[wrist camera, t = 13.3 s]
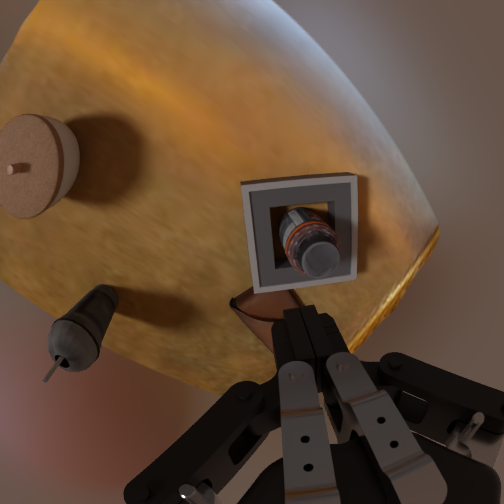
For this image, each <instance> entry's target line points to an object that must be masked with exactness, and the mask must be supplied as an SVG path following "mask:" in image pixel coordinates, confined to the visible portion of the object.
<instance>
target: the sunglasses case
mask: <svg viewBox="0 0 504 504" xmlns="http://www.w3.org/2000/svg"><path fill="white" fill-rule="evenodd" d="M229 305H230V307H231V309H232V310H233V311H234V312H235V313H236V314H237V315H238V316H239V318H240V319H241V320H242V321H243V322H244V323H245V324H246V326H247V327H248V328H249V329H250V330H251V331H252V332H253V333H254V334H255V335H256V336H257V337H258V338H259V339H260V340H261V341H262V342H263V343H264V344H265V346H266V347H267V348H268V349H269V350H270V351H271V352H272V353H273V354H274V351H273V343H272V335H271V327H272V325H273V323H274V322H275V321H281V320H284V318H283V310H284V309H291V308H297V307H298V308H299V307H301V306H300V304H299V303H298V301H297V300H296V299H295V297H294V296H293V294H292V293H291V292H290V290H289V289H287V290H280V291H272V292H264V293H256V294H254V288H253V287H251V288H249V289H248V290H246V291H245V292H243V293H242V294H240V295H238V296H237V297H236V298H235V299H234V298H232V299H231V300H230V303H229Z"/></svg>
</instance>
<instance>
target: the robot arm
mask: <svg viewBox="0 0 504 504" xmlns="http://www.w3.org/2000/svg"><path fill="white" fill-rule="evenodd" d="M283 318H284V320H281V321H275V322H274V323H273V325H272V327H271V335H272V343H273V351H274V357H275V363H276V368H277V373H276V375H275V376H274V377H273V378H272V379H271V380H269V381H267V382H265V383H263V384H260V385H259V384H257V383H255V382H252V381H242V382H238V383H236V384H234V385H233V386H231V387H230V388H229V389H228V390H227V392H226V393H225V394H224V395H223V396H222V397H221V398H220V399H219V400H218V401H217V402H216V403H215V404H214V405H213V406H212V407H211V408H210V409H209V410H208V411H207V412H206V413H205V414H204V415H203V416H202V417H201V418H200V419H199V420H198V421H197V422H196V423H195V424H194V425H192V426H191V427H190V428H189V429H188V430H187V431H186V432H185V433H184V434H183V435H182V436H181V437H180V438H179V439H178V440H177V441H176V442H175V443H173V444H172V445H171V446H170V447H169V448H168V449H167V450H166V451H165V452H164V453H162V454H161V455H160V456H159V457H158V458H157V459H156V460H155V461H154V462H152V463H151V464H150V465H149V466H148V467H147V468H146V469H144V470H143V471H142V472H141V473H140V474H139V475H137V476H136V477H135V478H134V479H133V480H131V481H130V482H129V483H128V484H127V485H126V487H125V489H124V500H125V502H126V504H222V503H221V500H220V499H219V497H218V496H217V494H218V493H219V492H220V491H221V490H222V489H223V488H224V487H225V486H226V484H227V483H228V482H229V481H230V480H231V479H232V478H233V477H234V476H235V474H236V473H237V472H238V471H239V470H240V469H241V468H242V466H243V465H244V464H245V463H246V461H248V459H249V458H250V457H251V455H253V453H254V452H255V451H256V450H257V449H258V447H259V446H260V445H261V444H262V442H263V441H264V440H265V438H266V437H267V436H268V434H269V432H270V431H272V430H275V429H276V428H279V427H281V430H282V447H283V457H282V458H280V459H279V460H277V461H275V462H273V463H272V464H271V465H269V466H268V467H267V468H266V469H265V470H264V471H263V472H262V473H261V474H260V475H259V476H258V478H257V479H256V480H255V482H254V483H253V484H252V486H251V487H250V488H249V489H248V491H247V492H246V493H245V494H244V496H243V497H242V498H241V499H240V501H239V502H238V503H237V504H500V497H501V482H500V478H499V476H498V474H497V473H496V471H495V470H494V469H493V466H494V463H495V461H496V458H497V455H498V452H499V450H500V447H501V444H502V441H503V438H504V392H502V391H500V390H497V389H494V388H491V387H488V386H486V385H483V384H480V383H477V382H474V381H472V380H469V379H467V378H464V377H461V376H458V375H456V374H453V373H451V372H448V371H445V370H443V369H440V368H437V367H435V366H432V365H430V364H427V363H424V362H422V361H420V360H417V359H414V358H412V357H409V356H407V355H405V354H402V353H398V352H392V353H388V354H385V355H384V356H383V357H382V358H381V359H380V362H364V361H360V360H359V359H358V358H357V357H356V356H355V355H354V354H351V353H350V352H349V350H348V348H347V346H346V344H345V342H344V339H343V337H342V335H341V333H340V332H339V329H338V327H337V325H336V323H335V321H334V319H333V318H332V317H331V316H330V315H328V314H327V313H322V314H318V312H317V310H316V308H315V306H314V305H308V306H302V307H299V308H298V307H297V308H291V309H284V310H283ZM403 391H405V392H407V393H409V394H412V395H414V396H416V397H419V398H421V399H423V400H425V401H423V400H421V399H418V398H416V397H414V396H412V395H409V394H407V393H405V392H403ZM320 392H323V395H324V407H325V410H326V412H327V415H328V417H329V420H330V422H331V425H332V427H333V429H334V432H335V435H336V437H337V442H338V444H329V439H328V433H327V428H326V422H325V417H324V412H323V409H322V408H321V407H320V403H319V398H318V393H320ZM426 401H427V402H426ZM410 430H412V431H415V432H417V433H419V434H421V435H424V436H426V437H428V438H430V439H433V440H435V441H437V442H440V443H442V444H444V445H446V447H444V446H442V445H440V444H438V443H436V442H434V441H431V440H429V439H427V438H425V437H423V436H421V435H419V434H417V433H414V432H411V431H410Z"/></svg>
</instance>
